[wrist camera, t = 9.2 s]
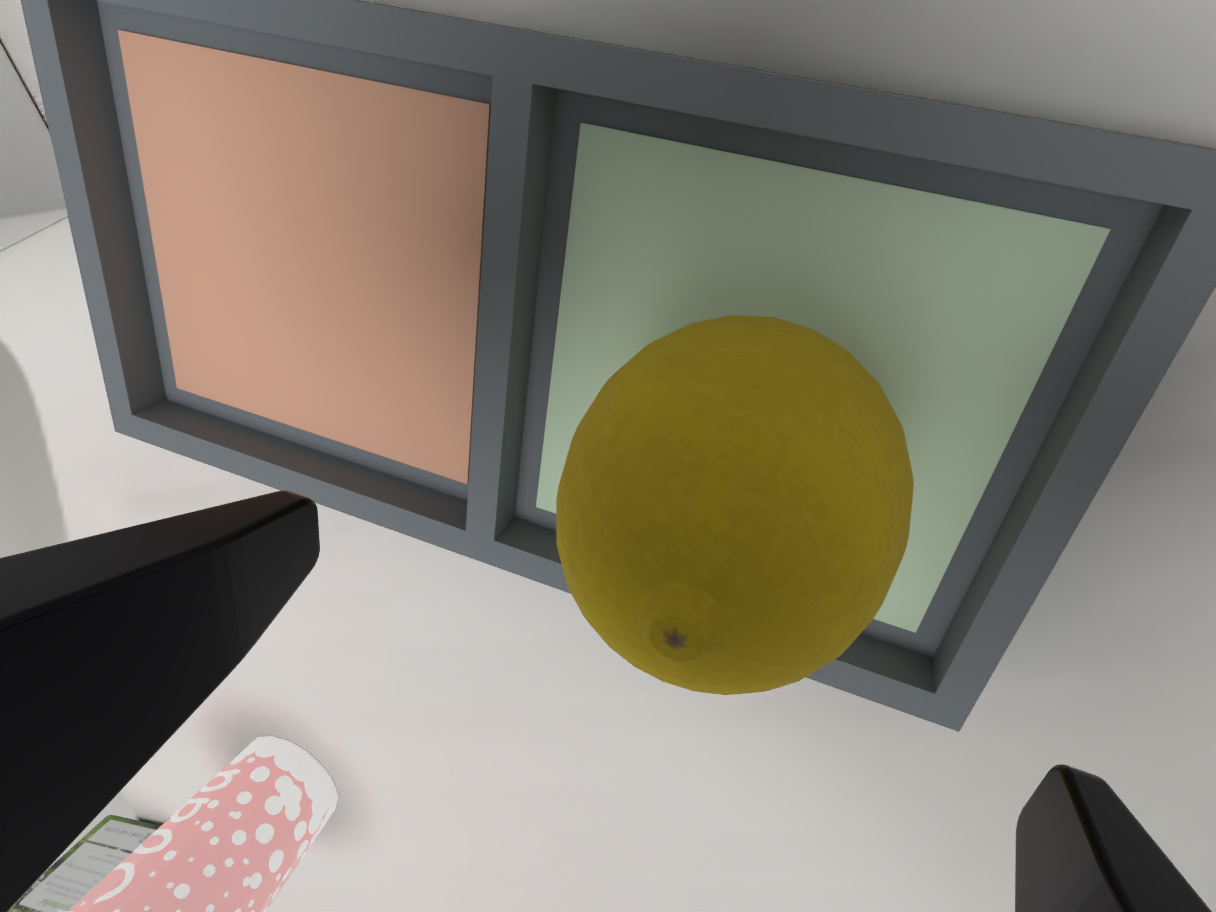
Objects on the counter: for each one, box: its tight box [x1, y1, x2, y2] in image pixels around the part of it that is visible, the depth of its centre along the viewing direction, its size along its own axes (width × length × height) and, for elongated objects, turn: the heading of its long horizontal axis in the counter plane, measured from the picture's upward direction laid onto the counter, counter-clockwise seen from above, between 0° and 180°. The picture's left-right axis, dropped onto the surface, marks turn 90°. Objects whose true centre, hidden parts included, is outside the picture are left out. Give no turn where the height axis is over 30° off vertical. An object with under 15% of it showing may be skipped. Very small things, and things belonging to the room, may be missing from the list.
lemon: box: [556, 315, 914, 695], centre depth 12 cm, size 6×6×8 cm
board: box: [21, 0, 1216, 732], centre depth 17 cm, size 24×12×2 cm, turn 81°
